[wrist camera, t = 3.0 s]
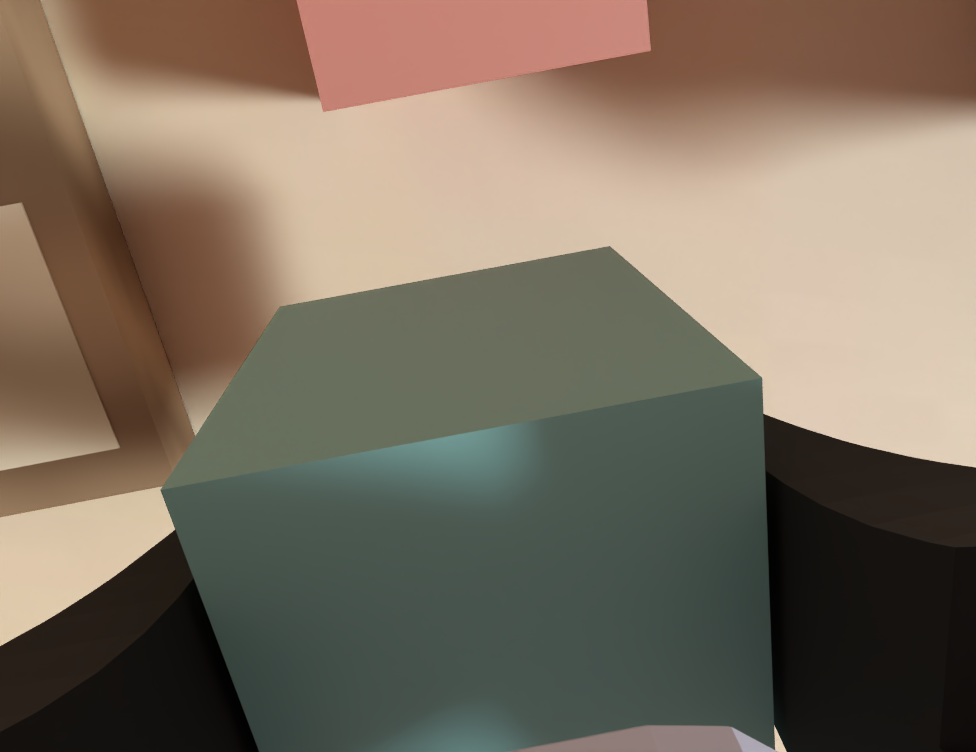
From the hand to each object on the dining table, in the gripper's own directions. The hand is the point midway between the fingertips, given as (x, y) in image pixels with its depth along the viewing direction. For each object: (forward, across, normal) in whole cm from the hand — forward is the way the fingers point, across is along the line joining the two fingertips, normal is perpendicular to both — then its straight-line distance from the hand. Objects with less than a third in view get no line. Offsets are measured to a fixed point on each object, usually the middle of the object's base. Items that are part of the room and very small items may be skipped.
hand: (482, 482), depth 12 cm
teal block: (+2, 0, 0) cm, 2 cm away
